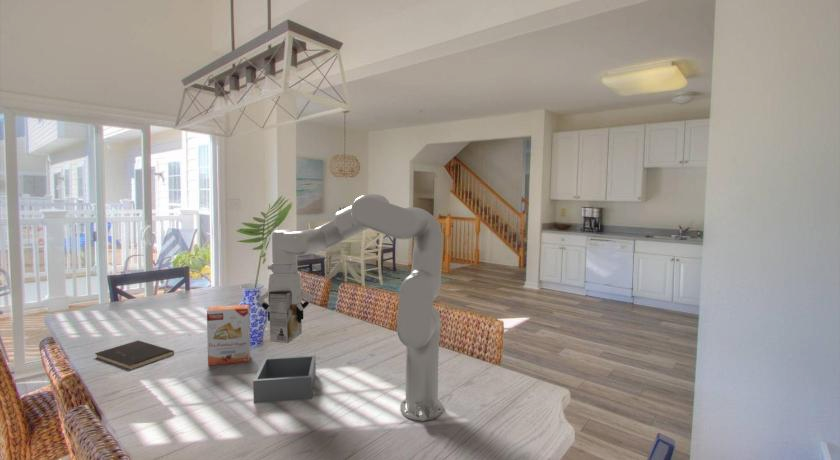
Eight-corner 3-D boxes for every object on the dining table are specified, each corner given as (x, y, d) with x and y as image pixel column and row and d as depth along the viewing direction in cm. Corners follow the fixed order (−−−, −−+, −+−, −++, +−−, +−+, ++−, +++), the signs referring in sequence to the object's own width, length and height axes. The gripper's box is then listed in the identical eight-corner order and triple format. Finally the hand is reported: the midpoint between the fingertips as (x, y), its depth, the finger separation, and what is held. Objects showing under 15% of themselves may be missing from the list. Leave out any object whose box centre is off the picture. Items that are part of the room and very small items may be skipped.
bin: (311, 398, 125) (311, 377, 124) (253, 403, 122) (253, 380, 121) (315, 374, 142) (315, 355, 141) (264, 378, 138) (264, 358, 138)
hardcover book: (129, 371, 144) (129, 365, 143) (95, 359, 154) (94, 353, 154) (174, 355, 158) (174, 349, 158) (140, 345, 168) (139, 339, 168)
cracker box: (207, 366, 147) (205, 310, 145) (211, 360, 153) (209, 306, 151) (249, 362, 151) (247, 308, 149) (251, 356, 157) (249, 303, 155)
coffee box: (284, 332, 135) (283, 285, 134) (302, 333, 134) (301, 286, 133) (269, 342, 126) (268, 291, 125) (288, 343, 125) (287, 292, 124)
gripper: (253, 271, 123) (254, 327, 125) (312, 270, 126) (312, 324, 128) (258, 267, 130) (259, 319, 132) (314, 266, 134) (314, 317, 135)
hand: (285, 322), depth 130 cm, fingers closed on coffee box, 8 cm apart
